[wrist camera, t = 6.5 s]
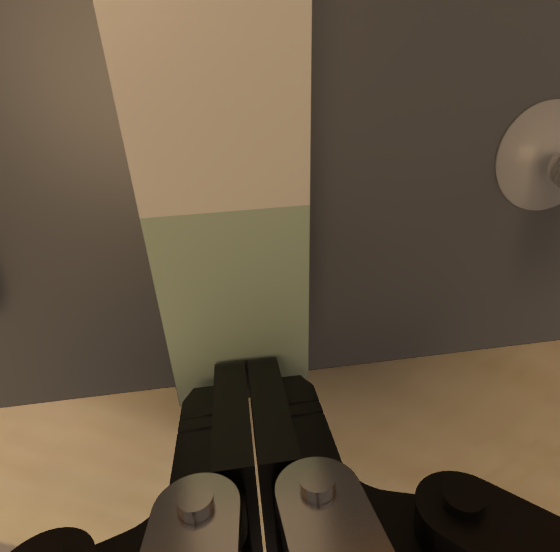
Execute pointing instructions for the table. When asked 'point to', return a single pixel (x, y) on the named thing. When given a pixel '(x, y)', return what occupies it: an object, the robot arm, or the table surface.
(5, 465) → the table surface
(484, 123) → the panel
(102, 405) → the table surface
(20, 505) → the table surface
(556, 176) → the lever
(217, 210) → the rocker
